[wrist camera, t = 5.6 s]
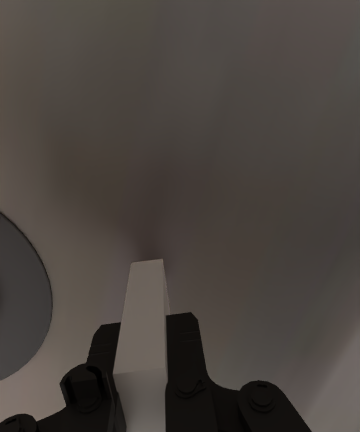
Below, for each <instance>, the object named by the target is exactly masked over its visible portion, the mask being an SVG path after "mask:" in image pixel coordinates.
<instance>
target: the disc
mask: <svg viewBox="0 0 360 432" xmlns="http://www.w3.org/2000/svg"><path fill="white" fill-rule="evenodd" d="M51 316H52V292H51V288H50V283H49V279H48V276H47V273H46V271H45V268H44V265H43V264H42V262H41V260H40V258H39V256H38V254H37V252H36V251H35V249H34V248H33V247H32V245H31V244H30V242H29V241H28V240H27V238H26V237H25V236H24V235H23V234H22V233H21V232H20V231H19V230H18V228H17V227H16V226H15V225H14V224H13V223H11V222H10V221H9V220H8V219H7V218H6V217H5V216H3V215H2V214H1V213H0V380H2V379H5V378H7V377H8V376H10V375H12V374H13V373H15V372H17V371H18V370H19V369H20V368H22V367H23V366H24V365H25V364H27V363H28V361H29V360H30V359H31V358H32V357H33V356H34V355H35V354H36V352H37V351H38V349H39V348H40V346H41V345H42V343H43V341H44V338H45V336H46V334H47V332H48V329H49V325H50V322H51Z"/></svg>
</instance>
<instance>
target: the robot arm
mask: <svg viewBox="0 0 360 432" xmlns="http://www.w3.org/2000/svg"><path fill="white" fill-rule="evenodd" d="M60 387H61V390H62V393H63V396H64V400H65V403H66V407H65V408H64V409H62V410H61V411H59V412H57V413H55V414H53V415H51V416H48V417H46V418H44V419H41V420H39V421H37V422H36V420H35V419H34V418H33V416H31V415H28V414H17V415H14V416H12V417H9V418H7V419H5V420H4V421H3V422H1V423H0V432H126V431H127V432H312V431H311V430H310V429H309V427H308V426H307V424H306V423H305V422H304V420H303V419H302V418H301V416H300V415H299V413H298V412H297V411H296V409H295V408H294V406H293V405H292V404H291V402H290V401H289V400H288V398H287V397H286V395H285V394H284V393H283V392H282V391H281V390H280V389H279V388H278V387H277V386H276V385H274V384H272V383H270V382H267V381H260V380H258V381H252V382H249V383H247V384H245V385H244V386H243V387H242V388H241V389H240V391H237V390H231V389H227V388H223V387H221V386H219V385H217V384H215V383H214V382H213V381H212V380H211V379H210V377H209V376H208V373H207V370H206V364H205V359H204V353H203V347H202V341H201V336H200V330H199V324H198V320H197V318H196V317H195V316H194V315H193V314H192V313H191V312H188V313H181V314H173V315H170V305H169V298H168V292H167V285H166V278H165V271H164V264H163V259H156V260H149V261H141V262H133V263H131V266H130V272H129V278H128V284H127V290H126V296H125V303H124V309H123V315H122V321H121V322H119V323H112V324H104V325H101V326H100V327H99V329H98V330H97V331H96V332H95V334H94V336H93V339H92V343H91V347H90V350H89V356H88V358H87V362H86V363H85V364H81V365H78V366H76V367H75V368H73V369H71V370H70V371H69V372H68V373H67V374H66V375H65V376H64V377H63V379H62V380H61V382H60Z"/></svg>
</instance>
